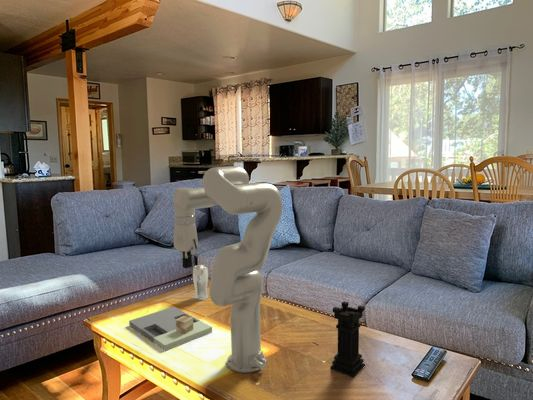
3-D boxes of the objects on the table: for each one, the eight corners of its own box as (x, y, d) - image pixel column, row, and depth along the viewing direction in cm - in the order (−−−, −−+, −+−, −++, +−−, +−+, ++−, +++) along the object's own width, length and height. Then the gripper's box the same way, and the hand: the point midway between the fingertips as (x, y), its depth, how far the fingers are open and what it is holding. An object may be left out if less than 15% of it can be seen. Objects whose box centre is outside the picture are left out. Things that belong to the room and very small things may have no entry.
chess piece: (342, 358, 135) (343, 300, 132) (365, 366, 130) (366, 306, 127) (330, 368, 129) (330, 308, 126) (353, 377, 124) (354, 315, 121)
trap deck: (212, 331, 155) (211, 327, 155) (165, 350, 142) (164, 345, 141) (173, 310, 175) (173, 306, 175) (129, 325, 162) (129, 320, 162)
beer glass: (192, 296, 192) (191, 265, 190) (207, 294, 194) (206, 263, 192) (194, 301, 186) (193, 269, 184) (210, 299, 188) (208, 268, 186)
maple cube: (193, 329, 153) (193, 318, 153) (185, 334, 150) (184, 322, 149) (184, 326, 156) (184, 315, 155) (176, 331, 152) (175, 319, 151)
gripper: (165, 219, 157) (168, 266, 159) (188, 223, 146) (190, 273, 148) (182, 217, 162) (184, 261, 164) (205, 220, 151) (207, 268, 154)
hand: (187, 267), depth 156 cm, fingers closed
